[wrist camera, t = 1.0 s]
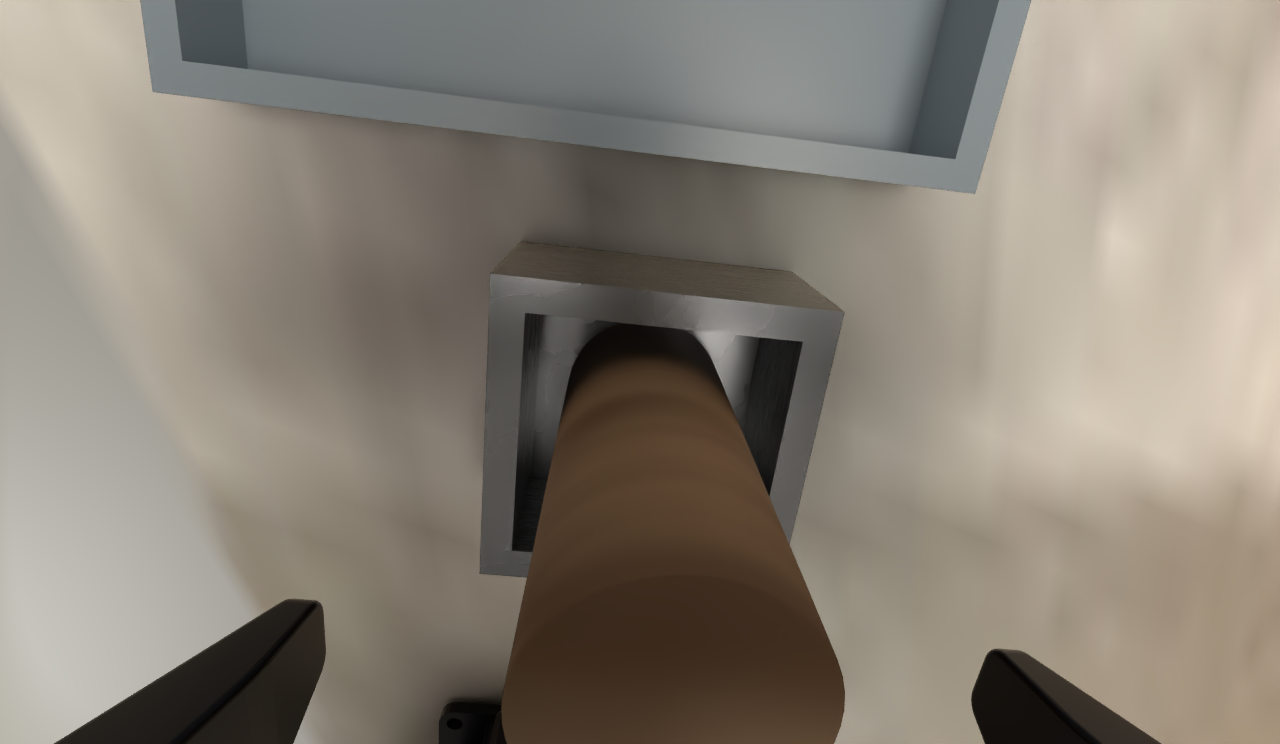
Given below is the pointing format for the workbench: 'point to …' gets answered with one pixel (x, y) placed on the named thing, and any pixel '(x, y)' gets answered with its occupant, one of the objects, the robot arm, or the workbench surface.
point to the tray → (627, 73)
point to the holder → (654, 296)
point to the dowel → (663, 571)
